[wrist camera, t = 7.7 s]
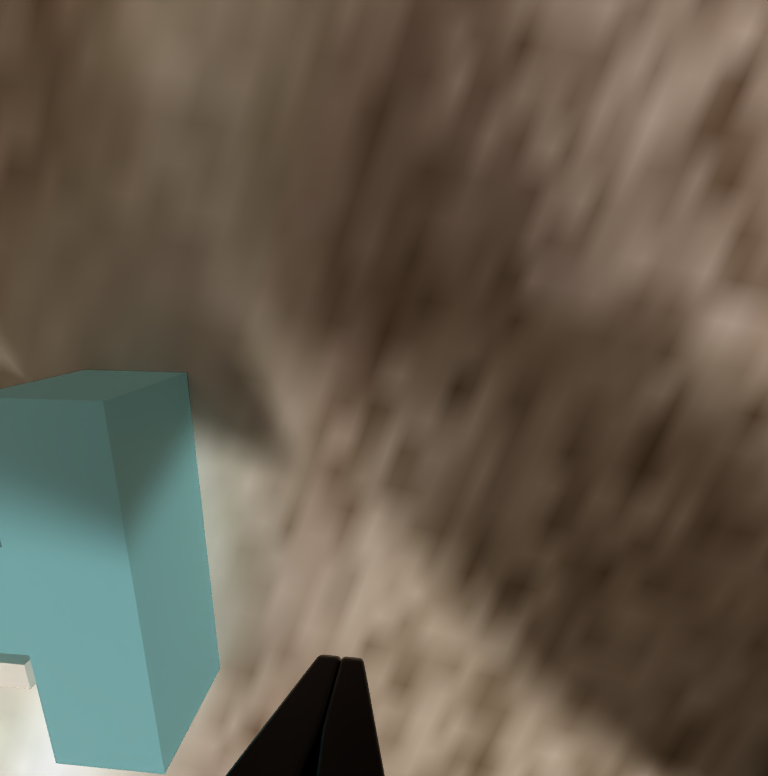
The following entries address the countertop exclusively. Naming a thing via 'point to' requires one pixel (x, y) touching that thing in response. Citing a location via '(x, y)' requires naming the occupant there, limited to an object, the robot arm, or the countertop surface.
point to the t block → (106, 562)
